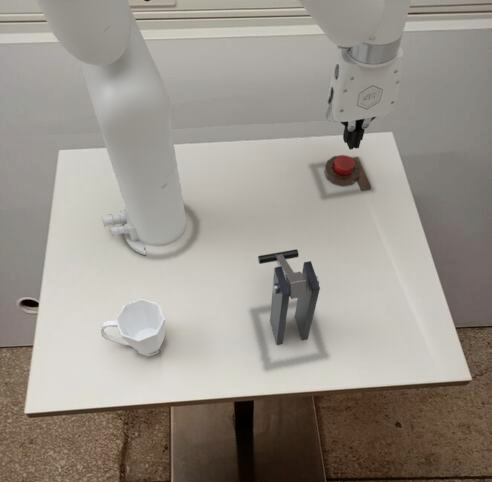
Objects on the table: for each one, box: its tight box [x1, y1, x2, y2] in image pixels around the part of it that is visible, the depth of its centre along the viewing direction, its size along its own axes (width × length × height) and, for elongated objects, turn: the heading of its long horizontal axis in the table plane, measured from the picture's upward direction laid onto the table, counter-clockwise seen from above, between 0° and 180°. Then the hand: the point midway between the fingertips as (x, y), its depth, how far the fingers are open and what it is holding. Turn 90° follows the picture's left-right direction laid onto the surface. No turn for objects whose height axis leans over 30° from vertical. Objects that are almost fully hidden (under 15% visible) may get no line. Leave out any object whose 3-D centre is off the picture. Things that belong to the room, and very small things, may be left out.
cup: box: [100, 297, 166, 358], centre depth 74 cm, size 7×10×8 cm
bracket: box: [269, 260, 321, 346], centre depth 72 cm, size 10×9×16 cm
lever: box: [257, 248, 307, 300], centre depth 70 cm, size 12×6×2 cm, turn 12°
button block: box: [323, 154, 372, 192], centre depth 93 cm, size 9×8×2 cm
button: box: [332, 154, 355, 177], centre depth 92 cm, size 4×4×2 cm
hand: (351, 143), depth 87 cm, fingers closed
